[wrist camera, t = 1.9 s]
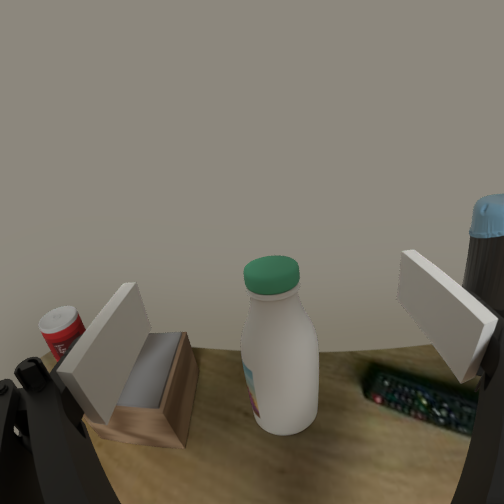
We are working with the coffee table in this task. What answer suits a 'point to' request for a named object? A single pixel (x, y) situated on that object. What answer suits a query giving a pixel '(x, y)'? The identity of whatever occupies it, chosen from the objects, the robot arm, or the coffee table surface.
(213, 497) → the coffee table surface
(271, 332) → the milk bottle
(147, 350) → the riser
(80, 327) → the canned food
